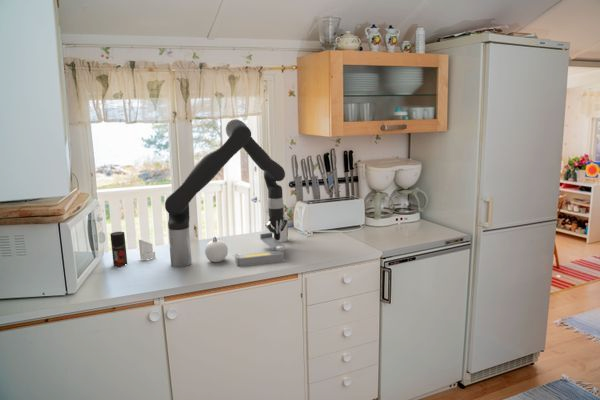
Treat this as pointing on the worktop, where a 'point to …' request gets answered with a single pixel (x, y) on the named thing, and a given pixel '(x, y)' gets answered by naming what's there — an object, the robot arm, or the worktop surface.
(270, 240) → the cover
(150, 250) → the white wedge bracket
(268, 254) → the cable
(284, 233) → the milk bottle
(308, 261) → the worktop surface
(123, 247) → the deodorant
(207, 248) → the ornament
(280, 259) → the grey tray
